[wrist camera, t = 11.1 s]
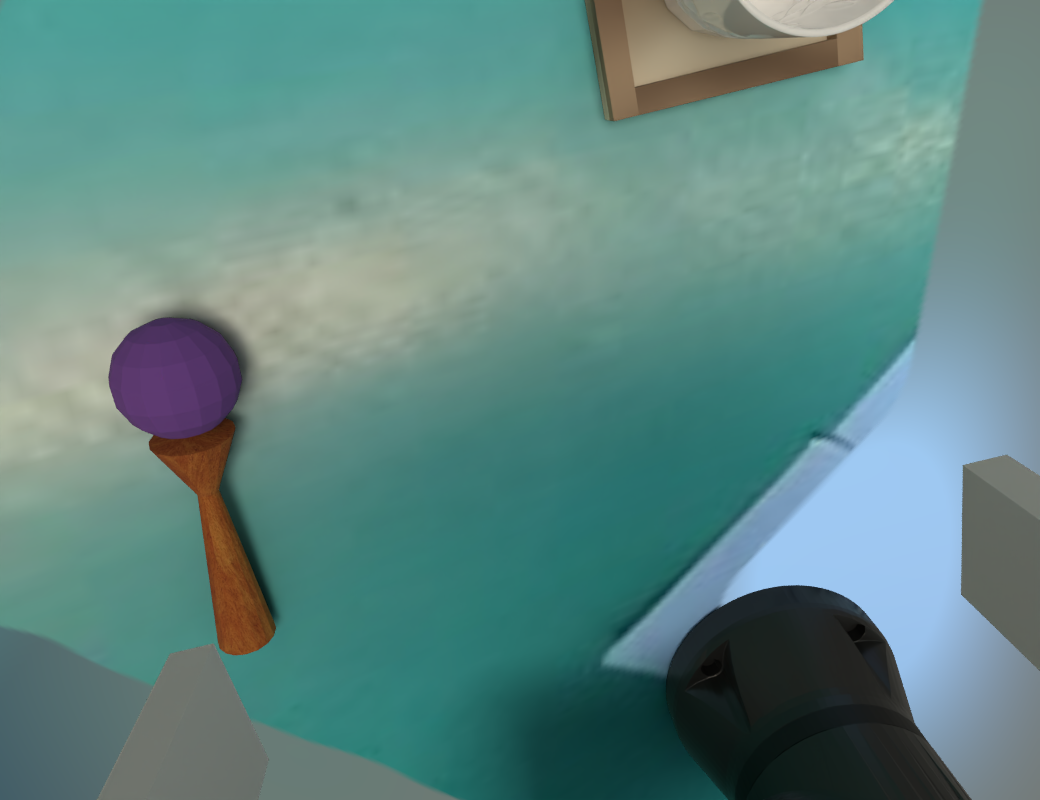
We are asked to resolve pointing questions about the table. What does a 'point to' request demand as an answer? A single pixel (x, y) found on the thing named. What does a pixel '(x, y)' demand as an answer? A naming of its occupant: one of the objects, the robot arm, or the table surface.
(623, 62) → the wooden divided tray
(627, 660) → the table surface
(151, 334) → the kendama
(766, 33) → the white cup
